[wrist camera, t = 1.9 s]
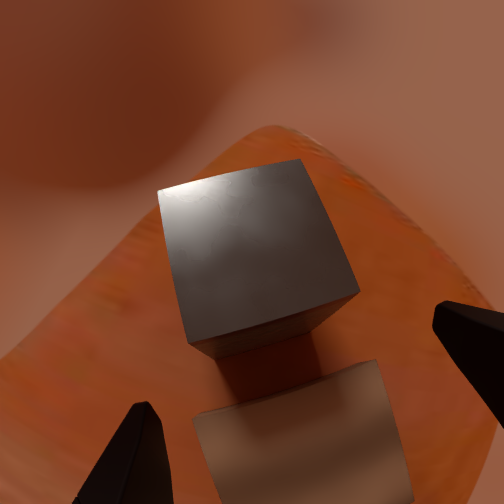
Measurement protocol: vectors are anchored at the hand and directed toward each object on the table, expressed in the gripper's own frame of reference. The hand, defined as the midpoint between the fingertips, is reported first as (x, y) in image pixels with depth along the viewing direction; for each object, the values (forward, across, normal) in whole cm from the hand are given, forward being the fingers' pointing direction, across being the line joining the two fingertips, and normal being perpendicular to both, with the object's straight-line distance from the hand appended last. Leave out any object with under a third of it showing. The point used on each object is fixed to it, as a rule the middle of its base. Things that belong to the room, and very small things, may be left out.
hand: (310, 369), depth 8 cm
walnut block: (+3, 0, +13) cm, 13 cm away
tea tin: (+12, 0, +5) cm, 13 cm away
